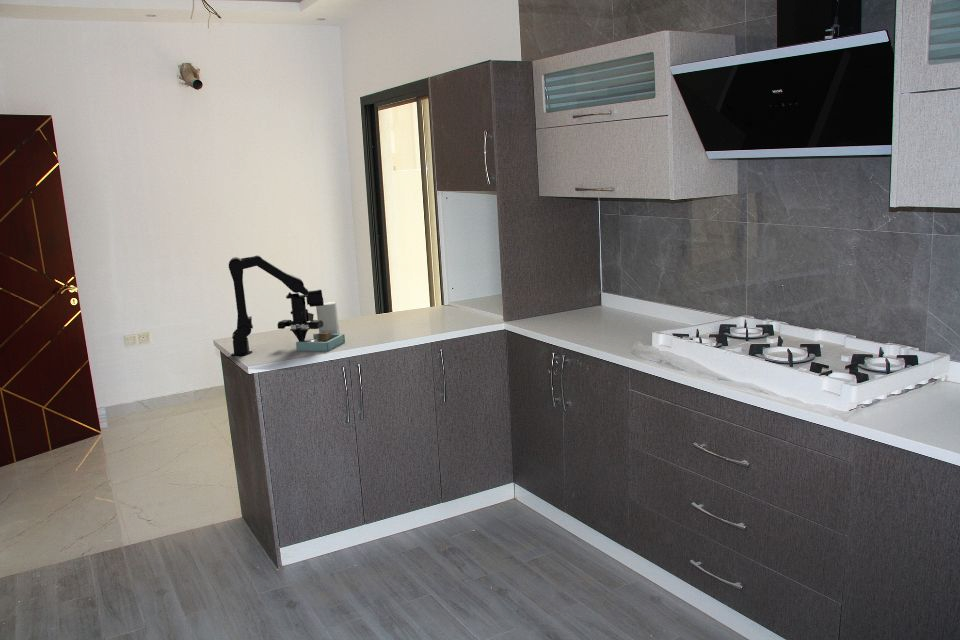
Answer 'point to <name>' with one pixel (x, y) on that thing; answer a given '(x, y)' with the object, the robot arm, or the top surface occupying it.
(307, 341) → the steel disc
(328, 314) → the skincare box
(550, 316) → the top surface
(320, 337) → the walnut block
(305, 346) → the parts bay
